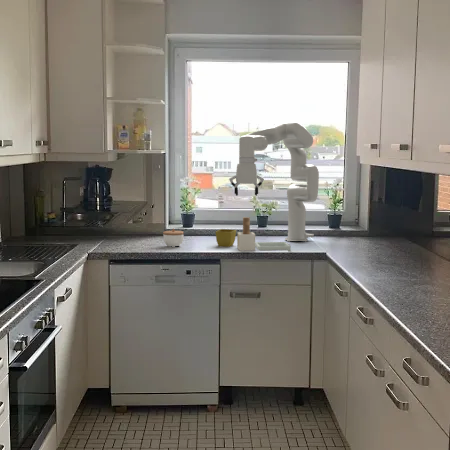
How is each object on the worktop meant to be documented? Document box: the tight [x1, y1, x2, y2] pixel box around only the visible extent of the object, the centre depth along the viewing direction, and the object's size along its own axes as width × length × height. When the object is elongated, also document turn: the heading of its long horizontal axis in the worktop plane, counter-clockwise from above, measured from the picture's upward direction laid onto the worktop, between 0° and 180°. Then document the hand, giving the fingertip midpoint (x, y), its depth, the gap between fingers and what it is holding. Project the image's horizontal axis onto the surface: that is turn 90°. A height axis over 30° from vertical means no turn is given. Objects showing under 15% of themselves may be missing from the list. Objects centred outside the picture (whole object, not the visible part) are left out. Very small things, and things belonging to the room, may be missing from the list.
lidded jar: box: [162, 228, 185, 248], centre depth 335 cm, size 11×11×9 cm
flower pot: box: [215, 228, 237, 248], centre depth 332 cm, size 9×9×9 cm
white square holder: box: [236, 231, 256, 252], centre depth 321 cm, size 8×8×9 cm
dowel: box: [242, 216, 251, 234], centre depth 321 cm, size 3×3×16 cm
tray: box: [255, 241, 292, 252], centre depth 327 cm, size 16×14×3 cm
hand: (246, 195), depth 318 cm, fingers open, 9 cm apart
